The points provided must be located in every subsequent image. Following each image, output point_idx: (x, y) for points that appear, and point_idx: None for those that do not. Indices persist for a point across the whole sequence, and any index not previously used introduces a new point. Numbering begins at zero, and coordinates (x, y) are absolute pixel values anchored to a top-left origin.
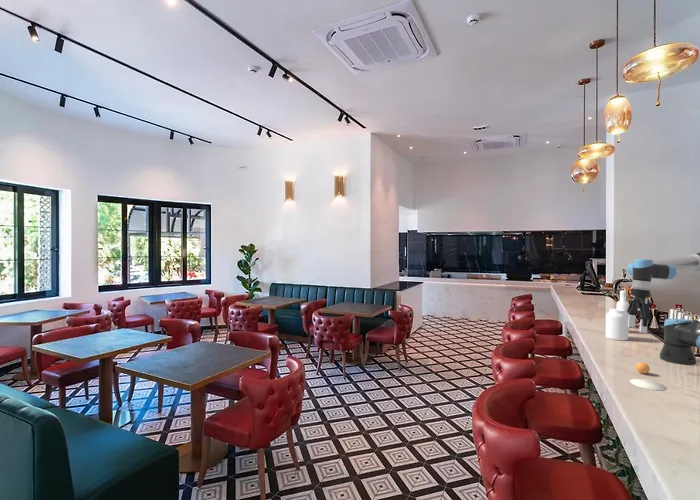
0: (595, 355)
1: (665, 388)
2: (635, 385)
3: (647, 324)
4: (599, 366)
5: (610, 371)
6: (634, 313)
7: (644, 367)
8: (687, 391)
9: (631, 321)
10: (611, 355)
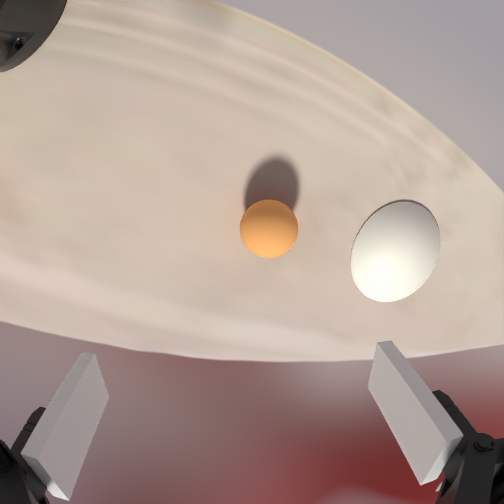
0: (64, 328)
1: (427, 211)
2: (408, 294)
3: (436, 398)
4: (220, 355)
5: (275, 334)
6: (28, 485)
7: (297, 233)
8: (434, 147)
9: (82, 422)
10: (30, 266)
